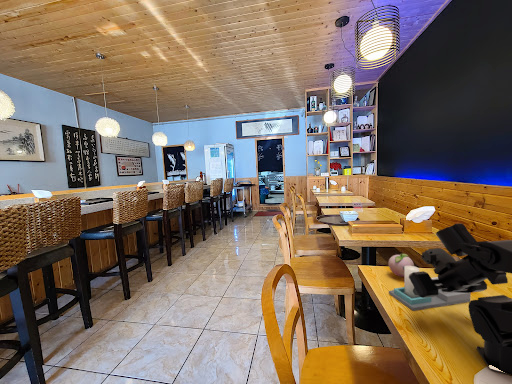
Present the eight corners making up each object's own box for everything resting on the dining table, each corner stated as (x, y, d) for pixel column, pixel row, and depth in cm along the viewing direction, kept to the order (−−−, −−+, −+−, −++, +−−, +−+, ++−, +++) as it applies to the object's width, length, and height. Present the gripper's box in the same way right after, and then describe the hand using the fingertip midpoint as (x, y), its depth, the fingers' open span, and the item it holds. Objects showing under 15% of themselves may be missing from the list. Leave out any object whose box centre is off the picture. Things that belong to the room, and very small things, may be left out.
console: (413, 310, 67) (413, 297, 66) (388, 293, 77) (388, 281, 76) (470, 301, 70) (470, 288, 69) (439, 286, 80) (439, 274, 79)
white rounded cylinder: (422, 299, 70) (422, 270, 70) (411, 301, 70) (411, 271, 69) (410, 291, 75) (410, 263, 74) (399, 293, 75) (399, 265, 74)
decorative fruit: (392, 270, 94) (392, 247, 93) (415, 276, 88) (415, 252, 87) (385, 277, 88) (385, 253, 87) (409, 284, 82) (409, 259, 81)
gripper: (475, 239, 60) (438, 263, 72) (414, 245, 58) (386, 268, 70) (511, 280, 53) (463, 298, 65) (441, 288, 51) (405, 305, 63)
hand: (428, 291), depth 66 cm, fingers open, 9 cm apart
